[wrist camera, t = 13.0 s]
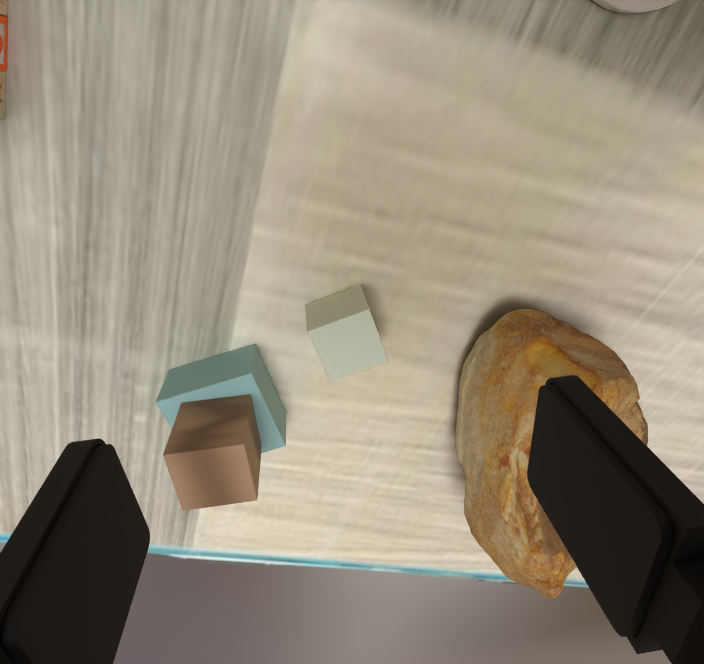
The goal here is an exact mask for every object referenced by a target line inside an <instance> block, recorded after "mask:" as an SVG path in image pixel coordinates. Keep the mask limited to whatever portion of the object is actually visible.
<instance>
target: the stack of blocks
mask: <svg viewBox="0 0 704 664" xmlns="http://www.w3.org/2000/svg"><path fill="white" fill-rule="evenodd" d="M7 15H8V0H0V120H1V119H4V118H5V76H6V70H7V37H8V18H7Z"/></svg>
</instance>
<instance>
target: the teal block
mask: <svg viewBox="0 0 704 664" xmlns="http://www.w3.org/2000/svg"><path fill="white" fill-rule="evenodd" d="M246 394H251V398H252V403H253V408H254V412H255V417H256V422H257V426H258V431H259V436H260V440H261V445H262V447H261V453H263V452H267V451H270V450H273V449H277V448H280V447H283V446H286V410H285V408H284V406H283V404H282V402H281V399H280V397H279V395H278V393H277V390H276V388H275V386H274V384H273V382H272V379H271V377H270V375H269V373H268V370H267V368H266V366H265V364H264V362H263V359H262V357H261V355H260V353H259V350H258V348H257V346H256V344H252V345H249V346H246V347H242V348H239V349H236V350H233V351H229V352H226V353H223V354H219V355H216V356H213V357H210V358H206V359H203V360H200V361H197V362H193V363H190V364H187V365H183V366H180V367H177V368H174V369H170V370H169V372H168V374H167V376H166V379H165V381H164V383H163V386H162V388H161V390H160V393H159V395H158V398H157V400H156V404H157V405H158V407H159V409H160V410H161V412H162V413H163V415H164V417H165V418H166V420H167V422H168V423H169V425H170V426H171V428H173V425H174V422H175V419H176V416H177V414H178V411H179V408H180V405H181V403H182V402H190V401H198V400H206V399H214V398H222V397H230V396H238V395H246Z"/></svg>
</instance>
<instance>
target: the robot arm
mask: <svg viewBox="0 0 704 664" xmlns="http://www.w3.org/2000/svg"><path fill="white" fill-rule="evenodd" d="M592 1H594V2H595V3H597V4H599V5H600V6H602V7H603V8H605V9H608V10H612V11H615V12H618V13H632V14H637V13H642V12H648V11H654V10H657V9H660V8H663V7H666V6H670V5H672V4H673V3H675V2H677V1H679V0H592ZM527 479H528V483H529V486H530V488H531V490H532V492H533V493H534V495H535V497H536V498H537V500H538V502H539V503H540V505H541V507H542V508H543V510H544V512H545V514H546V515H547V517H548V519H549V520H550V522H551V524H552V525H553V527H554V529H555V530H556V532H557V534H558V535H559V537H560V539H561V541H562V542H563V544H564V546H565V547H566V549H567V551H568V552H569V554H570V556H571V557H572V559H573V561H574V563H575V564H576V566H577V568H578V569H579V571H580V573H581V574H582V576H583V578H584V579H585V581H586V583H587V584H588V586H589V588H590V589H591V591H592V593H593V594H594V596H595V598H596V600H597V601H598V603H599V605H600V606H601V608H602V610H603V611H604V613H605V615H606V616H607V618H608V620H609V622H610V623H611V625H612V627H613V628H614V630H615V631H616V632H617V633H618V634H619V635H620V636H622V637H625V636H627V638H628V640H629V641H630V643H631V645H632V646H633V648H634V650H635V651H636V653H637V654H640V653H646V652H652V651H657V650H663V651H664V653H665V654H666V656H667V657H668V659H669V660H670V662H671V663H672V664H704V504H703V503H702V502H701V501H700V500H699V499H698V498H697V497H696V496H695V495H694V494H693V493H692V492H691V491H690V490H689V489H688V488H687V487H686V486H685V485H684V484H683V483H682V482H681V481H680V480H679V479H678V478H677V476H676V475H675V474H674V473H673V472H672V471H671V470H670V469H669V468H668V467H667V466H666V465H665V464H664V463H663V462H662V461H661V460H660V459H659V458H658V457H657V456H656V455H655V454H654V453H653V452H652V451H651V450H650V449H649V448H648V447H647V446H646V445H645V444H644V443H643V442H642V441H641V440H640V439H639V438H638V437H637V436H636V435H635V434H634V433H633V432H632V431H631V430H630V429H629V428H628V427H627V426H626V424H625V423H624V422H623V421H622V420H621V419H620V418H619V417H618V416H617V415H616V414H615V413H614V412H613V411H612V410H611V409H610V408H609V407H608V406H607V405H606V404H605V403H604V402H603V401H602V400H601V399H600V398H599V397H598V396H597V395H596V394H595V393H594V392H593V391H592V390H591V389H590V388H589V387H588V386H587V385H586V384H585V383H584V382H583V381H582V380H581V379H580V378H579V377H578V376H577V375H568V376H560V377H553V378H549V379H548V380H547V381H546V384H545V385H543V386H541V387H540V388H539V392H538V399H537V406H536V413H535V420H534V427H533V434H532V441H531V447H530V454H529V461H528V468H527ZM149 542H150V533H149V528H148V526H147V523H146V521H145V519H144V516H143V514H142V512H141V509H140V507H139V505H138V502H137V500H136V498H135V495H134V493H133V491H132V488H131V486H130V484H129V481H128V479H127V477H126V474H125V472H124V470H123V467H122V465H121V463H120V460H119V458H118V456H117V453H116V451H115V449H114V447H113V446H112V445H111V444H107V445H106V444H105V442H104V441H103V440H102V439H92V440H85V441H77V442H71V443H69V444H68V445H67V446H66V447H65V449H64V451H63V452H62V454H61V456H60V457H59V459H58V460H57V462H56V464H55V465H54V467H53V469H52V470H51V472H50V473H49V475H48V477H47V478H46V480H45V482H44V483H43V485H42V486H41V488H40V490H39V491H38V493H37V494H36V496H35V498H34V499H33V501H32V503H31V504H30V506H29V507H28V509H27V511H26V512H25V514H24V516H23V517H22V519H21V520H20V522H19V524H18V525H17V527H16V529H15V530H14V532H13V533H12V535H11V537H10V538H9V540H8V542H7V543H6V545H5V546H4V548H3V550H2V551H1V553H0V664H113V662H114V659H115V655H116V652H117V648H118V646H119V642H120V639H121V635H122V632H123V629H124V626H125V623H126V619H127V616H128V613H129V609H130V606H131V603H132V600H133V596H134V593H135V590H136V587H137V583H138V580H139V577H140V573H141V570H142V567H143V564H144V560H145V557H146V554H147V551H148V547H149Z"/></svg>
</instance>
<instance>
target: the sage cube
mask: <svg viewBox="0 0 704 664" xmlns="http://www.w3.org/2000/svg"><path fill="white" fill-rule="evenodd" d="M306 320H307V332H308V334H309V337H310V339H311V341H312V343H313V345H314V347H315V350H316V352H317V354H318V356H319V358H320V360H321V363H322V365H323V367H324V369H325V371H326V373H327V376H328V378H329V380H330V382H331V381H334V380H337V379H340V378H343V377H345V376H348V375H351V374H354V373H356V372H359V371H362V370H365V369H368V368H370V367H373V366H376V365H379V364H381V363H384V362H387V361H388V358H387V355H386V352H385V349H384V347H383V344H382V341H381V338H380V335H379V332H378V330H377V327H376V324H375V322H374V319H373V316H372V314H371V311H370V308H369V305H368V303H367V300H366V297H365V295H364V292H363V289H362V287H361V284H359V285H357V286H354V287H351V288H349V289H346V290H343V291H340V292H338V293H335V294H332V295H330V296H327V297H324V298H322V299H319V300H316V301H314V302H311V303H308V304H306Z"/></svg>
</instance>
